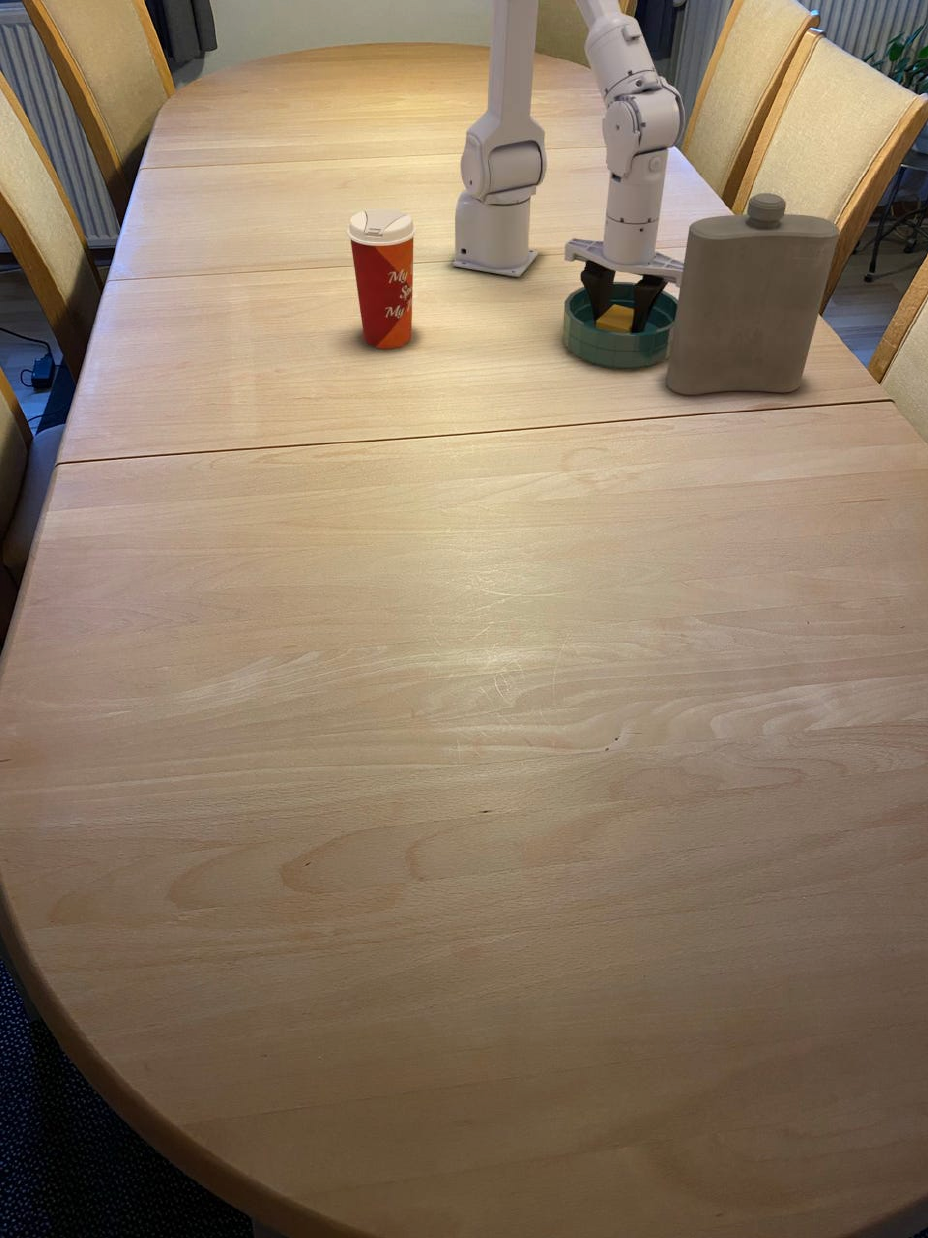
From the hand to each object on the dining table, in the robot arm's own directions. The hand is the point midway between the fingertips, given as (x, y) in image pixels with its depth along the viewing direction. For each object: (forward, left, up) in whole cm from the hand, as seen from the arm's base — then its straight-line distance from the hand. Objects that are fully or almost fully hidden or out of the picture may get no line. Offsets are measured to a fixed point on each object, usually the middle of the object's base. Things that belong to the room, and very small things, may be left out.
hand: (619, 331), depth 115 cm
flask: (+14, -3, -2) cm, 15 cm away
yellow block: (0, 0, -1) cm, 1 cm away
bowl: (0, +1, -2) cm, 2 cm away
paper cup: (-26, -8, -2) cm, 27 cm away
